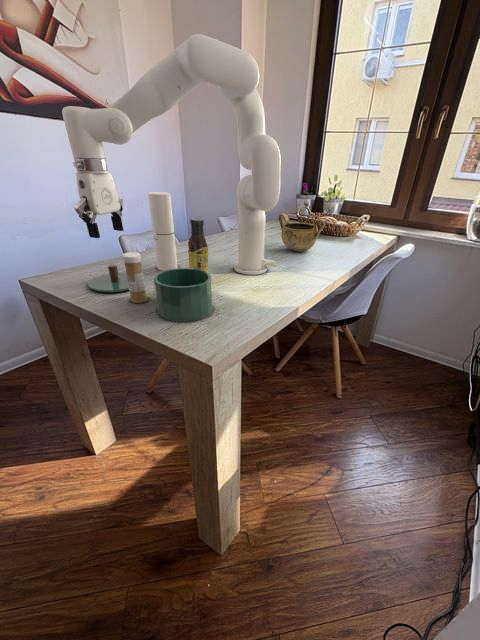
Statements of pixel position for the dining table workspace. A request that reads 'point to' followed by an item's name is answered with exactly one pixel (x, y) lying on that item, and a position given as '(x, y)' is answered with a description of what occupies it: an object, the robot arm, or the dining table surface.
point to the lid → (110, 281)
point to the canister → (183, 294)
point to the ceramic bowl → (299, 234)
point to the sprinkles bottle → (135, 276)
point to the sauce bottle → (198, 246)
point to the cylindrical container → (163, 229)
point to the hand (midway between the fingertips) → (107, 233)
